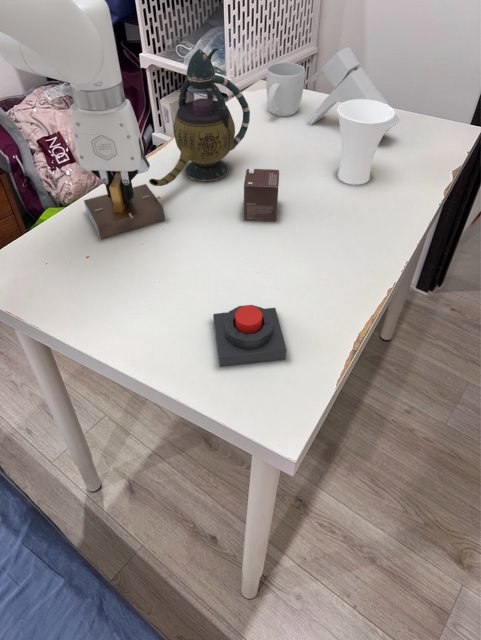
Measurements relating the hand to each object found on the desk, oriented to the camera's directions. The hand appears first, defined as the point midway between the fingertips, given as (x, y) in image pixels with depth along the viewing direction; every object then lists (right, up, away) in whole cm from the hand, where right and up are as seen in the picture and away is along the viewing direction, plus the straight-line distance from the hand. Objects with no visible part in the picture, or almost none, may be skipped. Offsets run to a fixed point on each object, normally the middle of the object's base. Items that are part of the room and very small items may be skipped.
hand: (122, 200), depth 83 cm
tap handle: (0, 0, +1) cm, 1 cm away
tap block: (0, -3, +3) cm, 4 cm away
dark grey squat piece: (+22, -25, -18) cm, 38 cm away
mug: (+31, +30, +33) cm, 55 cm away
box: (+25, -2, +4) cm, 25 cm away
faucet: (+47, +23, +26) cm, 58 cm away
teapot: (+12, +7, +12) cm, 19 cm away
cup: (+44, +8, +12) cm, 47 cm away
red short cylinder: (+22, -22, -21) cm, 38 cm away
